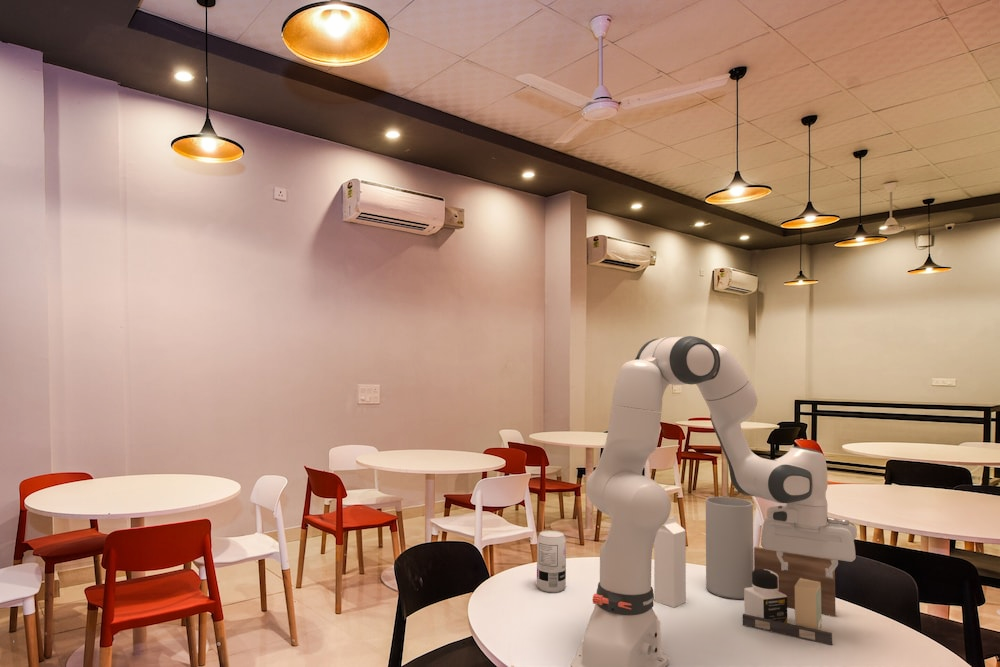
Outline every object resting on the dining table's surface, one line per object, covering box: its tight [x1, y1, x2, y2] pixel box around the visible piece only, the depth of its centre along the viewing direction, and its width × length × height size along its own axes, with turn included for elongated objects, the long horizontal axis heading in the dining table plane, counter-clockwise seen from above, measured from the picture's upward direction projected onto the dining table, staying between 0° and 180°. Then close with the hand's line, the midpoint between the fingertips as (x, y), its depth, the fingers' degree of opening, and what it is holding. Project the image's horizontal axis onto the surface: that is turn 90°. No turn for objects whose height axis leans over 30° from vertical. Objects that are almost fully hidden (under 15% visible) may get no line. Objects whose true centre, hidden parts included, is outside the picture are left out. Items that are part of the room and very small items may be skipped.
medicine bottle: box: [743, 569, 788, 623], centre depth 147 cm, size 7×7×12 cm
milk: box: [653, 516, 687, 608], centre depth 158 cm, size 6×6×22 cm
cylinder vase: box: [705, 496, 754, 600], centre depth 166 cm, size 12×12×25 cm
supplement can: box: [536, 529, 567, 593], centre depth 167 cm, size 8×8×15 cm
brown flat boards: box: [742, 546, 837, 646], centre depth 147 cm, size 20×19×14 cm
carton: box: [794, 578, 823, 630], centre depth 141 cm, size 5×7×11 cm
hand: (806, 573), depth 141 cm, fingers open, 8 cm apart
